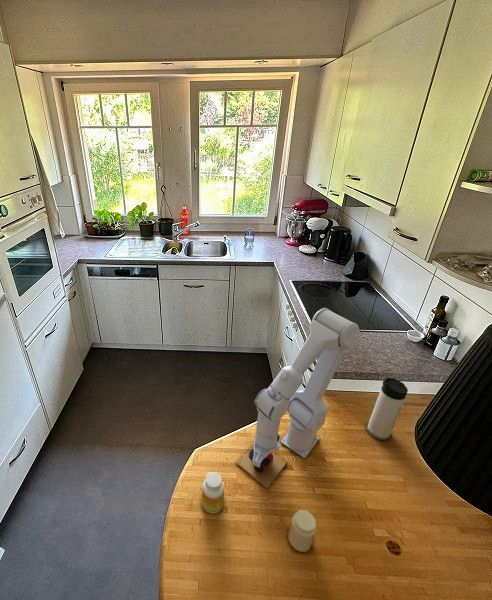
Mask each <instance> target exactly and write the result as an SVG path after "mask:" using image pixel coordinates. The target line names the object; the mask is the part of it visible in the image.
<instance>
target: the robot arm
mask: <svg viewBox="0 0 492 600" xmlns="http://www.w3.org/2000/svg"><path fill="white" fill-rule="evenodd" d="M360 332H361V331H360V328H359V325H358V324H357V323H356V322H353V321H351V320H349V319H347V318H345V317H344V316H341V315H340V314H337V313H335V312H334V311H332V310H330V309H329V308H327V307H323V308H321V309H319V310H318V311H316V313H315V314H314V315H313V317H312V320H311V321H310V322H309V335H308V336H307V338H306V339H305V341H304V343H303V344H302V346H301V348H300V350H299V351H298V353H297V355H296V356H295V357H294V359H293V360H292V362H291V364H290V365H287V366H283V367H282V369H281V370H280V371H279V373H277V375H276V377H275V378H274V379H273V381H272V382H271V383H270V385H269V386H268V387H267V388H264V389H262V390H260V391H259V392H258V394H257V395H256V397H255V399H254V401H253V402H254V403H253V404H254V405H255V406H256V411H257V412H258V413H257V419H256V427H255V435H254V436H253V446H254V450H252V449H251V448H250V449H251V451H250V453H249V458H250V459H251V461H252V464H253V465H254V469H255V471H257V472H259V473H262V472H263V470H264V468H265V467H267V466H268V465H269V464H270V461H271V459H269V458H267V456H268V455H269V454H270V453H271V452H273V451H280V449H281V444H283V445H284V446H285V447H287V448H288V449H290V450H291V451H292V452H294V453H295V454H297V455H298V456H300V457H302V458H304V459H305V458H306V457H308V454H309V453H310V452H311V450H312V449H313V448H314V447H315V445H316V444H317V442H318V441H319V440H320V437H318V436H317V434H318V431H320V430H321V429H322V428H323V427H324V424H325V422H326V416H327V414H328V412H329V411H328V407H327V406H326V403H325V401H324V398H323V397H324V396H325V394H326V391H327V389H328V387H329V385H330V384H331V381H332V379H333V378H334V376H335V375H334V374H335V373H336V371H337V369H338V367H339V365H340V362H341V360H342V359H343V356H344V355H345V352H346V351H347V352H351V351H352V349H353V347H354V345H355V343H356V341H357V339H358V338H359V335H360ZM316 360H317V361H316ZM315 361H316V364H315V366H314V367H313V370H312V372H311V375H310V377H309V378H308V380H307V383H306V385H305V387H304V389H299V388H300V387H301V385H302V384H303V383H304V374H305V372H307V370H308V369H309V368H310V367H311V366H312V365H313V364H314V363H315ZM287 413H288V417H289V425H288V429H287V433H286V434H285V435H284V436H283V437H282V439H281V440H280V437H281V436H280V435H279V431H280V430H279V429H280V425H281V419H282V418H283V417H284V416H285V415H286V414H287ZM279 440H280V441H279Z"/></svg>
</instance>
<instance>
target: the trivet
mask: <svg viewBox="0 0 492 600" xmlns="http://www.w3.org/2000/svg"><path fill="white" fill-rule="evenodd" d="M251 449H252V450H254V445H253V446H252V447H251V448H250V449H249V450H248V451H247V452H246V453H245V454H244V455H243V456H242V457H241V458H240V460H239V461H238V462H237V463H236V465H237V466H239V467H240V468H241V469H242V470H243V471H244V472H246V473H247V474H248V475H249V476H251V477H252V478H253V479H255V480H256V481H257V482H259V483H260V484H261V485H262V486H264V488H266V489H268V488H269V487H270V486H271V485H272V483H273V482H274V480H275V479H276V478H277V476H279V474H280V473H281V472H282V470H283V469H284V467H286V465H287V461H285V460H284V459H282V457H280V456H278V455H277V454H275V453H274V452H273V451H272V452H271V453H272V454H273V463H272V466H271V467H270V468H268V469H264V470H263V472H262V473H259V472H257V471H255V469H254V465H253V464H252V461H251V459H250V458H249V453H250V451H251Z"/></svg>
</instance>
